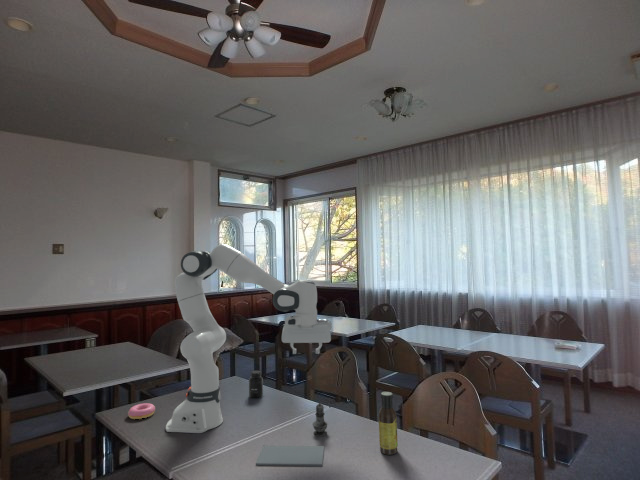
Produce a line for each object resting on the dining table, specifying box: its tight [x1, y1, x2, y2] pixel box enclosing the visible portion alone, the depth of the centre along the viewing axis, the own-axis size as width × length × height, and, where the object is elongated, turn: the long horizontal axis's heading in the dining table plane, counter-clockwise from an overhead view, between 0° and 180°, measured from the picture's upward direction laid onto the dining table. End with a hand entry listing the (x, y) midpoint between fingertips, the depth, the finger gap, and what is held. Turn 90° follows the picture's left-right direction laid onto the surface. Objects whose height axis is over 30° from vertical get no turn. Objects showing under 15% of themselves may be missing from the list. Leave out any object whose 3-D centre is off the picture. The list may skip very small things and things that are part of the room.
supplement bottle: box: [248, 370, 264, 400], centre depth 192 cm, size 7×7×12 cm
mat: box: [255, 444, 325, 467], centre depth 135 cm, size 22×12×1 cm, turn 86°
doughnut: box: [127, 402, 156, 420], centre depth 172 cm, size 11×11×4 cm
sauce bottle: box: [378, 391, 399, 455], centre depth 137 cm, size 6×6×20 cm
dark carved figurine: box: [312, 401, 329, 437], centre depth 152 cm, size 6×6×12 cm
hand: (306, 353), depth 160 cm, fingers open, 8 cm apart
